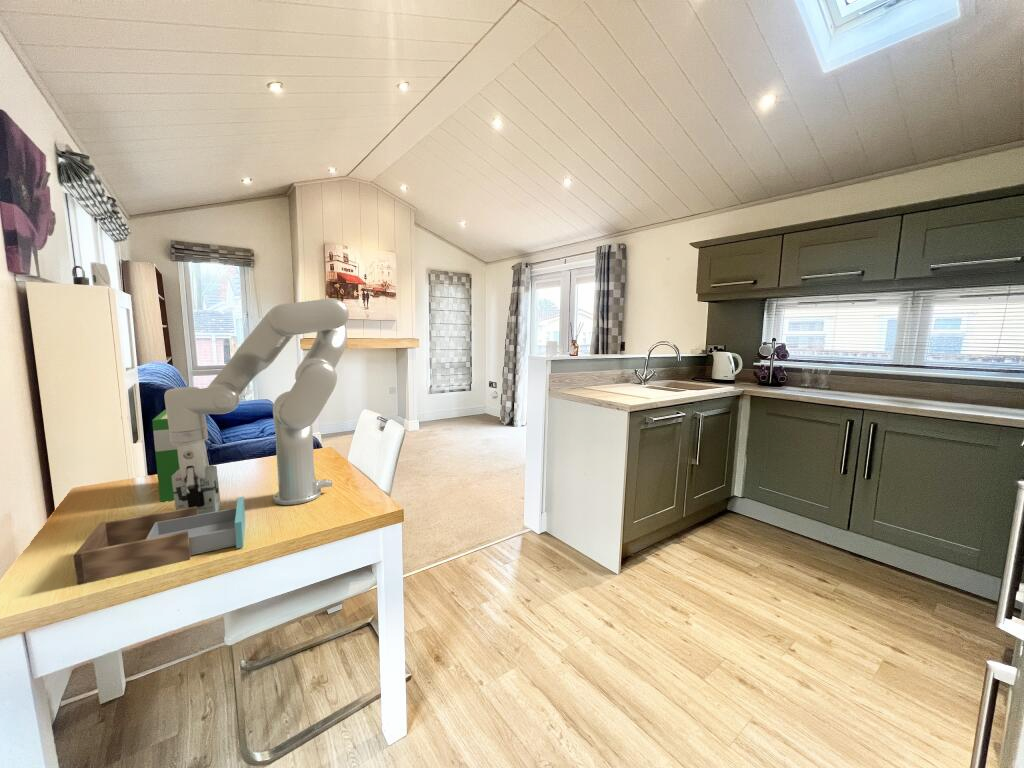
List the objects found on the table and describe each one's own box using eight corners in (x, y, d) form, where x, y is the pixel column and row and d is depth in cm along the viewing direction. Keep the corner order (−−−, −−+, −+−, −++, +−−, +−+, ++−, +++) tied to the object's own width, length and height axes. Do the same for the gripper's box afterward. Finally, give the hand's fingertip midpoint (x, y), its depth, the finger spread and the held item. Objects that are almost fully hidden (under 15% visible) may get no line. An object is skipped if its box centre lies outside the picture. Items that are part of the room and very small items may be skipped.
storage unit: (199, 529, 99) (197, 506, 98) (189, 559, 86) (187, 532, 85) (103, 548, 90) (100, 522, 89) (77, 584, 77) (73, 555, 76)
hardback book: (171, 483, 129) (164, 410, 126) (200, 479, 133) (194, 408, 130) (160, 502, 114) (152, 420, 111) (193, 497, 118) (186, 417, 115)
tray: (245, 518, 104) (243, 496, 103) (243, 547, 90) (241, 521, 90) (158, 535, 95) (155, 511, 94) (141, 569, 81) (138, 541, 81)
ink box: (175, 520, 101) (169, 475, 100) (182, 512, 106) (176, 469, 104) (217, 513, 105) (211, 470, 103) (222, 506, 109) (216, 464, 108)
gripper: (203, 440, 97) (212, 511, 100) (210, 426, 112) (218, 488, 114) (163, 446, 93) (174, 519, 96) (176, 430, 108) (185, 494, 110)
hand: (198, 502), depth 105 cm, fingers closed on ink box, 5 cm apart
